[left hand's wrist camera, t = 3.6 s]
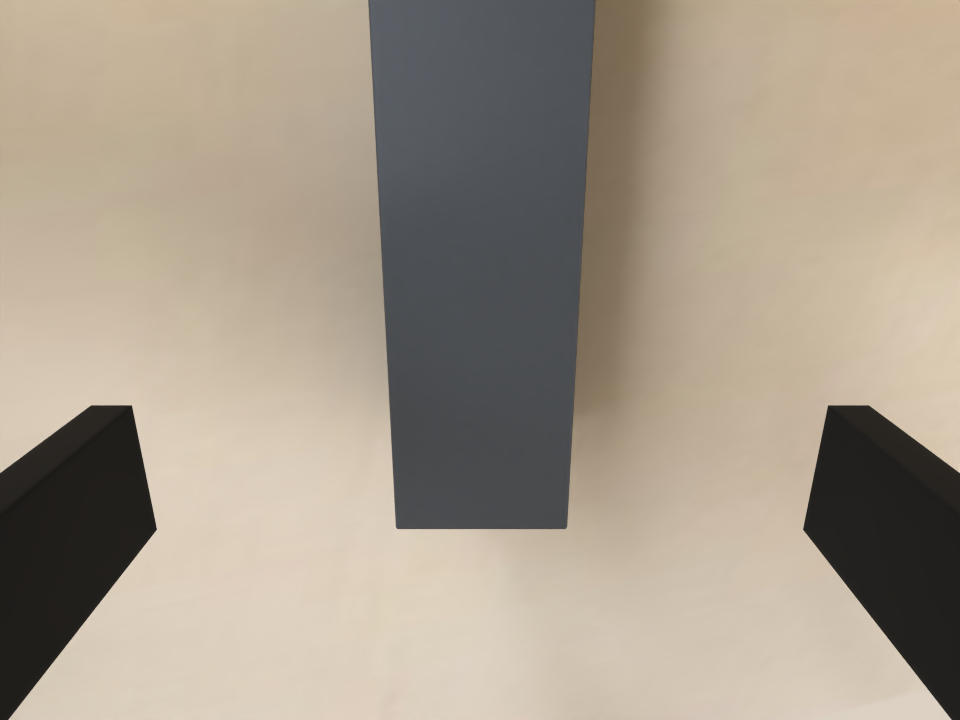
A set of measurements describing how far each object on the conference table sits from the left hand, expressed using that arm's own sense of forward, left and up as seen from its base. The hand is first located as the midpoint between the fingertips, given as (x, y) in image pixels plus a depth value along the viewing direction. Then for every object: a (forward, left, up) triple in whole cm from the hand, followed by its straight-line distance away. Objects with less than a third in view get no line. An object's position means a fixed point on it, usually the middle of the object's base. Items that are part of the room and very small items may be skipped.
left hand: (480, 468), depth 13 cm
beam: (+18, +20, -15) cm, 30 cm away
